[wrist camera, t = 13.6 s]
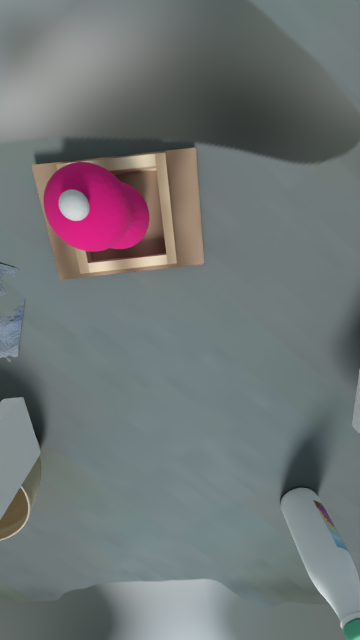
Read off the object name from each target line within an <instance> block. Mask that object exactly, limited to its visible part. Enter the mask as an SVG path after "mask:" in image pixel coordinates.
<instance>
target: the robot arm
mask: <svg viewBox="0 0 360 640" xmlns="http://www.w3.org/2000/svg"><path fill="white" fill-rule="evenodd" d="M352 426H353V427H354V428H355V429H356V431H357V432H358V433H359V434H360V370H359V378H358V385H357V392H356V400H355V407H354V414H353V422H352ZM40 454H41V452H40V448H39V445H38V442H37V439H36V436H35V433H34V430H33V426H32V423H31V420H30V417H29V414H28V411H27V407H26V404H25V401H24V398H23V397H18V398H7V399H3V400H2V401H1V402H0V520H1V518H2V516H3V515H4V513H5V511H6V510H7V508H8V506H9V505H10V503H11V502H12V500H13V498H14V497H15V495H16V493H17V492H18V490H19V488H20V487H21V485H22V483H23V482H24V480H25V478H26V477H27V475H28V473H29V472H30V470H31V469H32V467H33V465H34V464H35V462H36V460H37V459H38V457H39V455H40Z"/></svg>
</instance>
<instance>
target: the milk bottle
mask: <svg viewBox="0 0 360 640" xmlns="http://www.w3.org/2000/svg"><path fill="white" fill-rule="evenodd" d="M281 509H282V511H283V514H284V516H285V519H286V521H287V524H288V526H289V529H290V531H291V534H292V536H293V539H294V541H295V544H296V546H297V548H298V551H299V553H300V556H301V558H302V560H303V563H304V565H305V567H306V570H307V572H308V574H309V576H310V578H311V580H312V581H313V583H314V585H315V586H316V588H317V589H318V590H319V592H320V593H321V594H322V595H323V596H324V598H325V599H326V600H327V601H328V602H329V604H330V605H331V606H332V608H333V609H334V611H335V612H336V614H337V615H338V617H339V619H340V621H341V624H340V625H341V627H342V629H343V631H344V635H345V637H346V639H347V640H360V583H359V577H358V573H357V570H356V567H355V565H354V562H353V560H352V558H351V556H350V554H349V552H348V550H347V548H346V546H345V544H344V543H343V541H342V539H341V537H340V535H339V534H338V532H337V530H336V528H335V526H334V524H333V523H332V521H331V519H330V517H329V516H328V514H327V512H326V510H325V508H324V507H323V505H322V503H321V501H320V500H319V498H318V496H317V495H316V493H315V492H313V491H312V490H310V489H308V488H296V489H293V490H290V491H289V492H287V493H286V494H285V495H284V496H283V498H282V500H281Z"/></svg>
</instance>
